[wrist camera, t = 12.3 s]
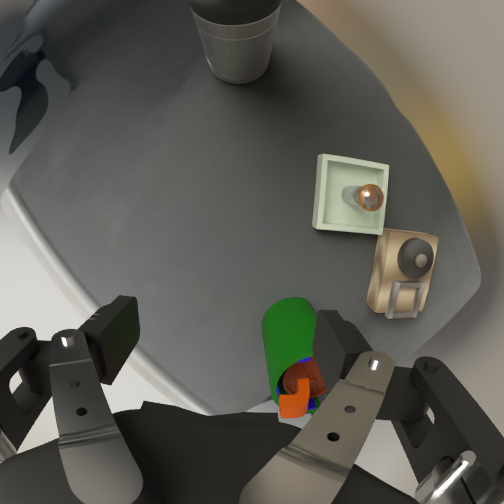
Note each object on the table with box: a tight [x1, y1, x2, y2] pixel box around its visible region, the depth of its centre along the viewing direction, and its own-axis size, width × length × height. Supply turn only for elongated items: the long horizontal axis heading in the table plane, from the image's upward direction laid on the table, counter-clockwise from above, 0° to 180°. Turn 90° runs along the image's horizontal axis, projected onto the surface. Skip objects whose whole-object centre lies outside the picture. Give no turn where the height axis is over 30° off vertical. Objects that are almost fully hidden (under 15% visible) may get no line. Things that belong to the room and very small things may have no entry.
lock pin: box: [341, 184, 384, 211], centre depth 36 cm, size 3×3×8 cm
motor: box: [262, 297, 327, 418], centre depth 35 cm, size 10×9×20 cm
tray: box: [312, 154, 389, 235], centre depth 39 cm, size 11×11×3 cm
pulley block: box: [366, 228, 439, 319], centre depth 40 cm, size 14×10×7 cm
